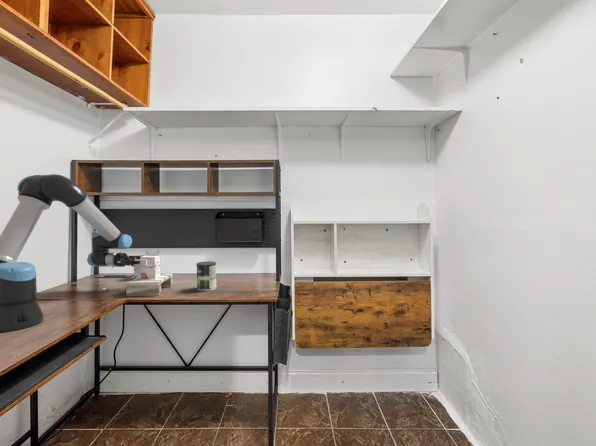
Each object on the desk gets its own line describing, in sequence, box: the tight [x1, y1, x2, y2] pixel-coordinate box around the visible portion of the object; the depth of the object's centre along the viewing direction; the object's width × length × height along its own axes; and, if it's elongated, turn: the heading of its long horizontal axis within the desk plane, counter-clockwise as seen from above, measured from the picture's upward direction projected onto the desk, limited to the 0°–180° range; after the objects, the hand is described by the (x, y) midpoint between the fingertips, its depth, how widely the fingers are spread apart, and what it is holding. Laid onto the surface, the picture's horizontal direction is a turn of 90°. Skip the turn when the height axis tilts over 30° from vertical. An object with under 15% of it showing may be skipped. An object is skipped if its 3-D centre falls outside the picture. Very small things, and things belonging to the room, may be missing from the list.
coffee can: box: [196, 260, 217, 292], centre depth 171 cm, size 10×10×14 cm
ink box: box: [133, 265, 141, 279], centre depth 196 cm, size 9×8×13 cm
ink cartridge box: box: [140, 249, 161, 279], centre depth 167 cm, size 9×5×15 cm, turn 83°
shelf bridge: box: [125, 273, 174, 297], centre depth 167 cm, size 20×16×7 cm
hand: (154, 260), depth 166 cm, fingers open, 13 cm apart
